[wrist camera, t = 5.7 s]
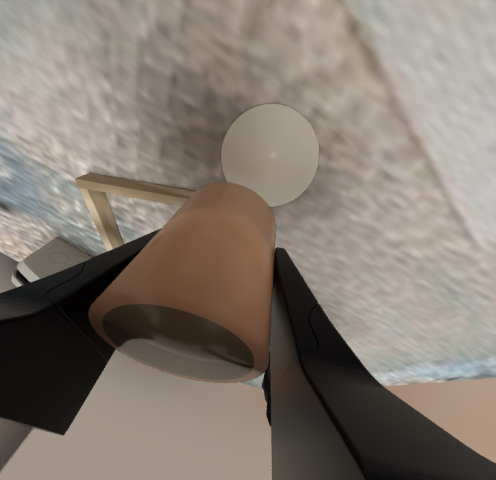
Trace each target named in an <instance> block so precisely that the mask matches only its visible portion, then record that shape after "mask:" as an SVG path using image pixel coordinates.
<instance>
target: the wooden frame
mask: <svg viewBox="0 0 496 480" xmlns="http://www.w3.org/2000/svg"><path fill="white" fill-rule="evenodd" d="M75 180H76V183H77V185H78V187H79V189H80V191H81V194H82V196H83V198H84V200H85V202H86V205H87V207H88V209H89V211H90V213H91V215H92V218H93V220H94V222H95V224H96V226H97V229H98V231H99V233H100V235H101V237H102V240H103V242H104V244H105V246H106V248H107V251H110V250H112V249H114V248H117V247H119V246H121V245H124V243H123V240H122V237H121V235H120V232H119V229H118V227H117V224H116V221H115V219H114V216H113V213H112V211H111V208H110V205H109V203H108V200H107V197H106V195H105V193H111V194H117V195H122V196H128V197H133V198H139V199H144V200H150V201H156V202H161V203H167V204H172V205H178V206H183V205H184V204H185V202H186V201H187V200H188V199H189V198H190V197H191V196H192V195H193V194H194V193H195V191H190V190H184V189H178V188H173V187H167V186H161V185H155V184H150V183H144V182H138V181H133V180H127V179H121V178H115V177H110V176H104V175H98V174H93V173H89V174H86V175H83V176H81V177H78V178H76V179H75Z"/></svg>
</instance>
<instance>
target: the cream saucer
mask: <svg viewBox="0 0 496 480" xmlns="http://www.w3.org/2000/svg"><path fill="white" fill-rule="evenodd" d="M318 163H319V145H318V140H317V137H316V134H315V132H314V130H313V128H312V126H311V125H310V123H309V122H308V121H307V120H306V118H305V117H304V116H302V115H301V114H300V113H299V112H298V111H296V110H294V109H293V108H290V107H288V106H285V105H281V104H272V103H271V104H263V105H259V106H256V107H253V108H251V109H249V110H247V111H246V112H244V113H243V114H241V115H240V116H239V117H238V118H237V119H236V120H235V121H234V122H233V123H232V125H231V126H230V128H229V129H228V131H227V133H226V135H225V138H224V141H223V145H222V150H221V164H222V169H223V173H224V176H225V178H226V180H227V182H229V183H235V184H239V185H242V186H245V187H247V188H249V189H251V190H253V191H254V192H256V193H257V194H258V195H260V196H261V197H262V198H263V199H264V200H265V201H266V202H267V204H268V205H269V207H275V206H280V205H284V204H286V203H289V202H291V201H293V200H294V199H296V198H297V197H299V196H300V195H301V194H302V193H303V192H304V191H305V190H306V189H307V188H308V186H309V185H310V184H311V182H312V180H313V178H314V176H315V174H316V171H317V167H318Z"/></svg>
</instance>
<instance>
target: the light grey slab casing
mask: <svg viewBox="0 0 496 480" xmlns="http://www.w3.org/2000/svg"><path fill="white" fill-rule="evenodd" d="M89 259H91V257H90V256H88V255H86V254H85V253H83V252H81V251H80V250H78V249H76V248H75V247H73V246H71V245H70V244H68V243H66V242H64V241H63V240H61V239H59V238H58V237H57V238H55V239H54V240H52V241H51V242H49V243H48V244H46V245H45V246H43V247H42V248H40V249H39V250H37V251H36V252H34V253H32V254H31V255H29V256H28V257H26V258H25V259H24V260H22V261H21V262H20V263H19V264H18V265H17V269H15V270H14V272H13V274H12V282H13V283H14V284H15V285H16V286H17V287H19V286H22V285H25V284H27V283H30V282H33V281H36V280H38V279H41V278H44V277H46V276H49V275H52V274H54V273H57V272H60V271H62V270H65V269H67V268H69V267H72V266H74V265H77V264H79V263H81V262H84V261H87V260H89Z"/></svg>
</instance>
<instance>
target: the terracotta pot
mask: <svg viewBox="0 0 496 480" xmlns="http://www.w3.org/2000/svg"><path fill="white" fill-rule="evenodd" d="M275 241H276V221H275V217H274V214H273V212H272V210H271V208H270V207H269V205H268V204H267V202H266V201H265V200H264V199H263V198H262V197H261V196H260V195H258V194H257V193H256V192H254V191H253V190H251V189H249V188H247V187H245V186H242V185H239V184H235V183H229V182H217V183H212V184H209V185H206V186H204V187H202V188H200V189H199V190H197V191H196V192H195V193H194V194H193V195H192V196H191V197H190V198H189V199H188V200H187V201H186V202H185V204H184V205H183V206H182V207H181V208H180V209H179V210H178V211H177V212H176V213H175V214H174V215H173V217H172V218H171V219H170V220H169V221H168V222H167V223H166V224H165V225H164V226H163V227H162V229H161V230H160V231H159V232H158V233H157V234H156V235H155V236H154V237H153V238H152V239H151V241H150V242H149V243H148V244H147V245H146V246H145V247H144V248H143V249H142V250H141V251H140V253H139V254H138V255H137V256H136V257H135V258H134V259H133V260H132V261H131V262H130V263H129V265H128V266H127V267H126V268H125V269H124V270H123V271H122V272H121V273H120V274H119V275H118V277H117V278H116V279H115V280H114V281H113V282H112V283H111V284H110V285H109V286H108V287H107V288H106V290H105V291H104V292H103V293H102V294H101V295H100V296H99V297H98V298H97V299H96V300H95V302H94V303H93V304H92V305H91V307H90V309H89V314H88V316H89V321H90V323H91V325H92V327H93V328H94V330H95V331H96V332H97V333H98V334H99V336H100V337H101V338H102V339H104V340H105V341H106V342H107V343H108V344H110V345H111V346H112V347H114V348H115V349H117V350H118V351H120V352H121V353H123V354H125V355H126V356H128V357H130V358H132V359H134V360H136V361H138V362H140V363H142V364H144V365H147V366H149V367H152V368H154V369H157V370H160V371H162V372H166V373H169V374H172V375H176V376H179V377H183V378H188V379H193V380H198V381H204V382H214V383H237V382H244V381H248V380H252V379H254V378H257V377H259V376H260V375H262V374H263V373H264V372H265V371H266V369H267V368H268V364H269V352H270V333H271V315H272V296H273V278H274V260H275Z"/></svg>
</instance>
